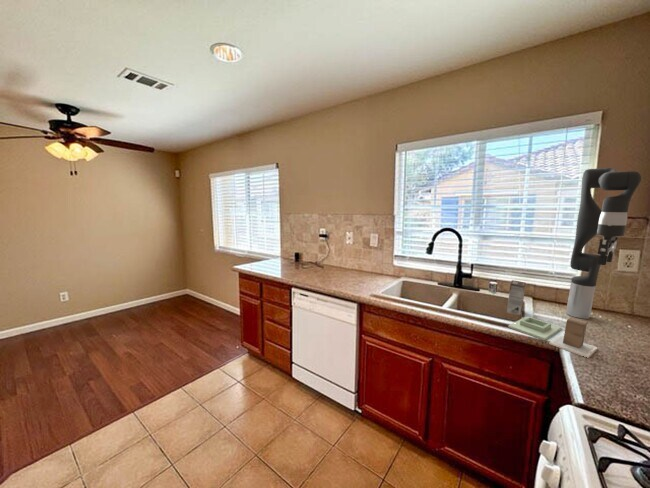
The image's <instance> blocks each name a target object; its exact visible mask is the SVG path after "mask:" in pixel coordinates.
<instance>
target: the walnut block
mask: <svg viewBox="0 0 650 488" xmlns="http://www.w3.org/2000/svg"><path fill="white" fill-rule="evenodd" d="M587 325H588V322H587V321H586V320H585V321H584V320H580V319H579V318H575V317H569V318H568V319H567V320H566V323H565V329H564V333H563V336H564V339H563V343H564V344H567V345H570V346H573V347H576V348H578V349H579V348H580V347H582V346H583V343H585V342H584V341H585V337H586V330H587V327H588V326H587Z"/></svg>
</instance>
